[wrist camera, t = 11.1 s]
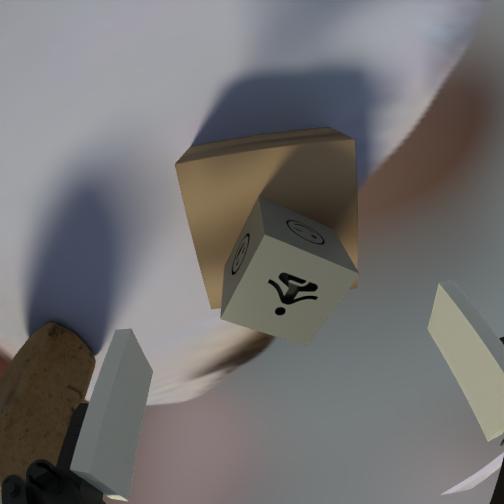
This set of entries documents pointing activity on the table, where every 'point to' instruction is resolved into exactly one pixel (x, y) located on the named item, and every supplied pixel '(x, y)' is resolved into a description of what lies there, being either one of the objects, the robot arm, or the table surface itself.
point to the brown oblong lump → (41, 397)
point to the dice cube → (284, 274)
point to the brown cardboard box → (266, 190)
